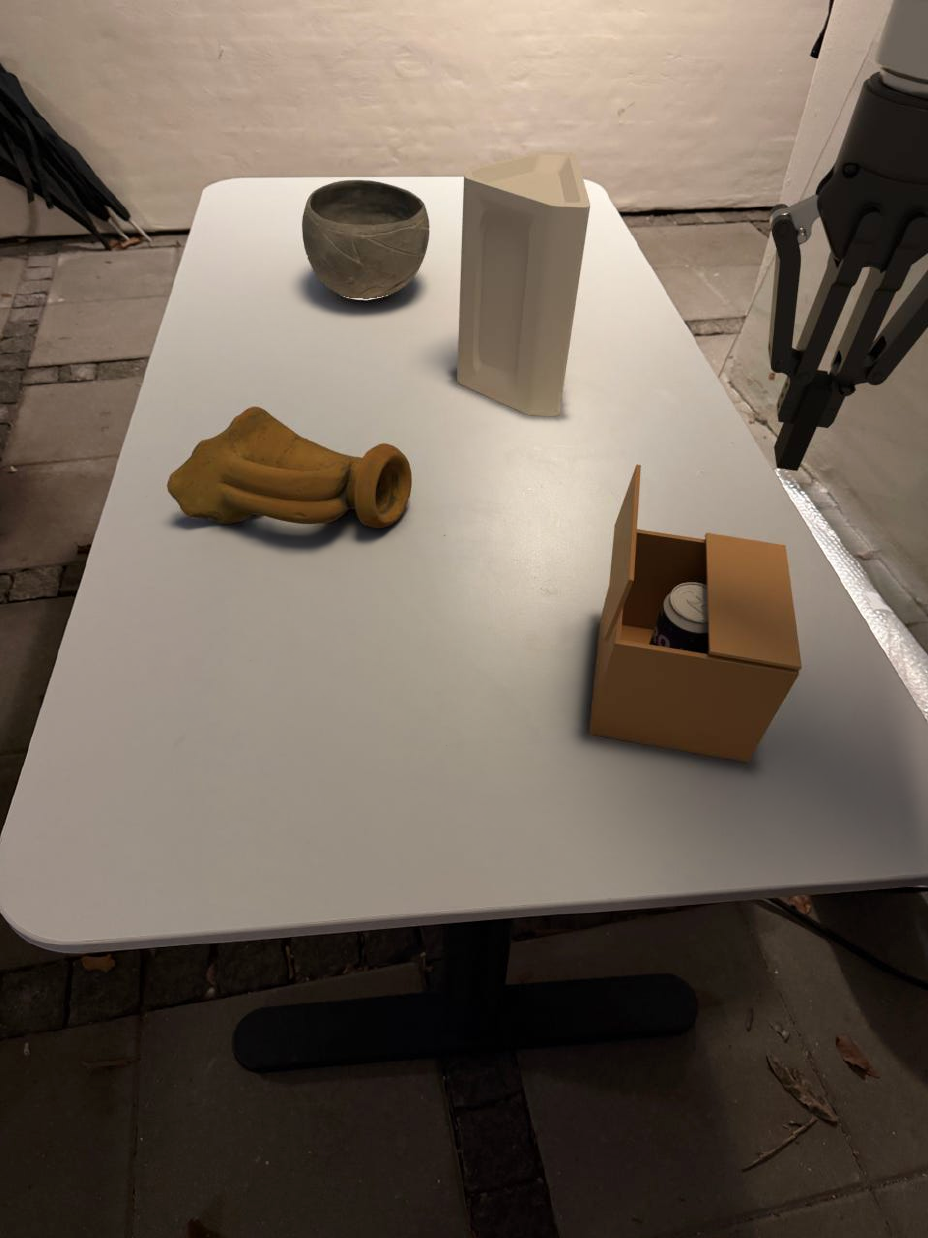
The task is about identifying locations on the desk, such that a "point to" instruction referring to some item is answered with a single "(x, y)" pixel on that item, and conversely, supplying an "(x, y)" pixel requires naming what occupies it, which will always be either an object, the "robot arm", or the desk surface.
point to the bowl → (365, 237)
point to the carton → (672, 657)
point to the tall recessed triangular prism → (520, 277)
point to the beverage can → (683, 619)
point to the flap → (750, 602)
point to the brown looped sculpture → (288, 477)
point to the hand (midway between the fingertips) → (785, 458)
